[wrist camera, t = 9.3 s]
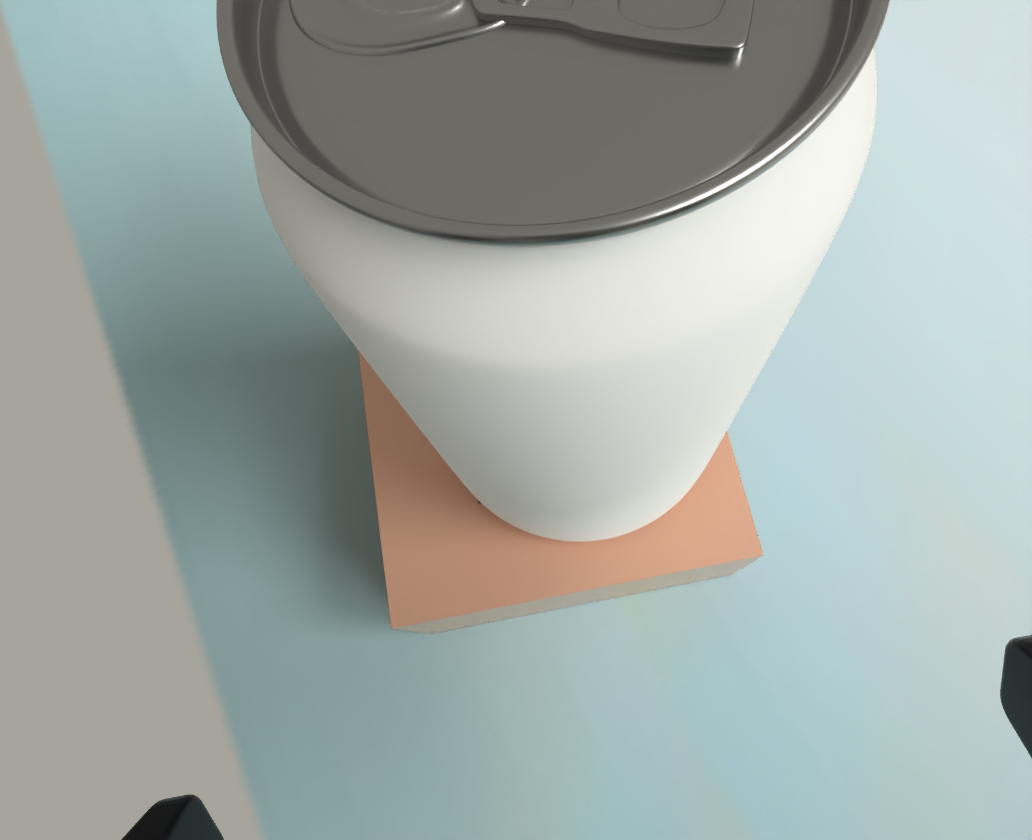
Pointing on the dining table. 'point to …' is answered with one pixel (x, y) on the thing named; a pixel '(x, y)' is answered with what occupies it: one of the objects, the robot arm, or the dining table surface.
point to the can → (560, 217)
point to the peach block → (528, 537)
